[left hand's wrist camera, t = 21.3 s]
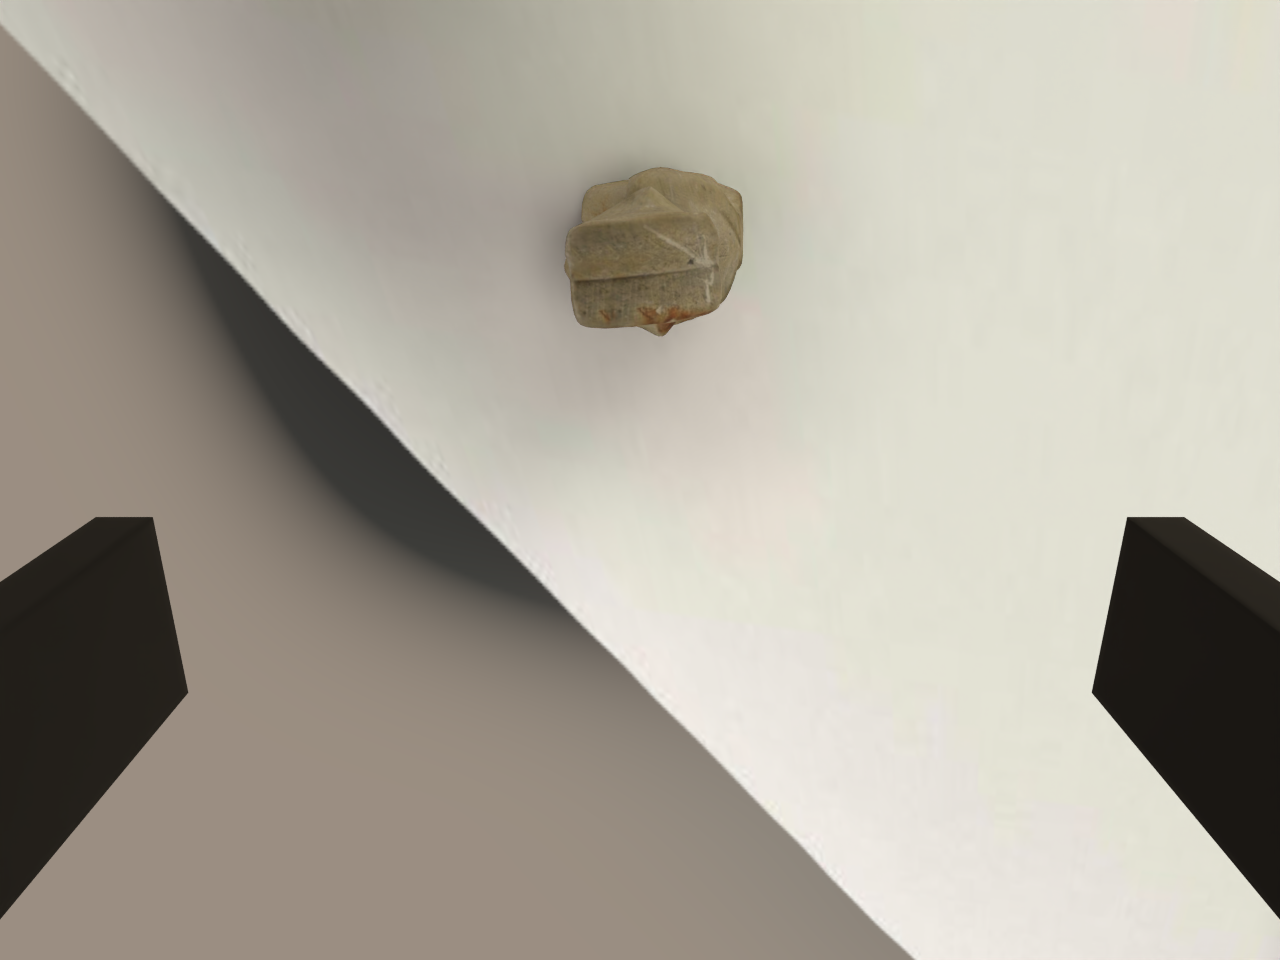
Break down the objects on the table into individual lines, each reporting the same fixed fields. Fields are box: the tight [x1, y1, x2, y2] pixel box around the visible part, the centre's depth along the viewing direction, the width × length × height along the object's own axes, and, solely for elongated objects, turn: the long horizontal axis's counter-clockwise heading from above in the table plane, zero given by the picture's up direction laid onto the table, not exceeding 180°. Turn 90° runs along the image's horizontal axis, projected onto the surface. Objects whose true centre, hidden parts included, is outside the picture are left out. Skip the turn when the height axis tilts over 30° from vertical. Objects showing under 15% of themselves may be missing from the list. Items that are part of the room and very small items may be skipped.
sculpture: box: [564, 167, 743, 336], centre depth 35 cm, size 6×7×15 cm
